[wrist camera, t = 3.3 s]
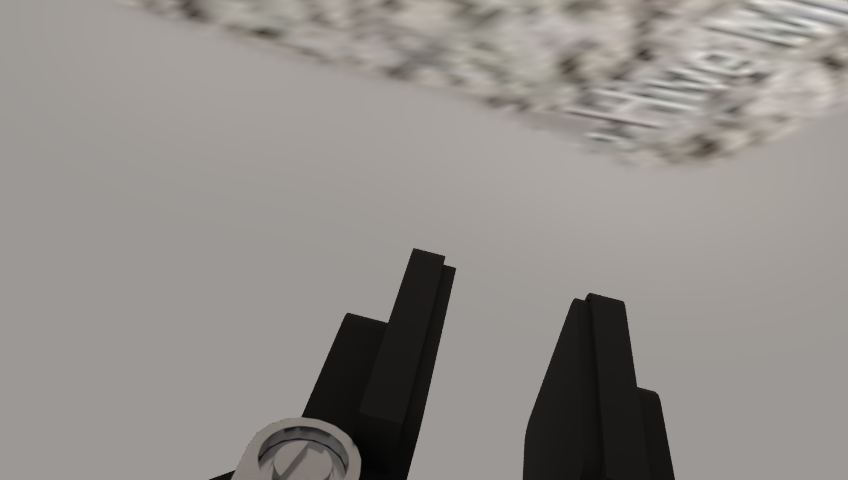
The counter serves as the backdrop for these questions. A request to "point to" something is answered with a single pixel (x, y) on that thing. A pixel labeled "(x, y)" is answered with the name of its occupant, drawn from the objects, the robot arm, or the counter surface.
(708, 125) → the counter surface
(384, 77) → the counter surface
